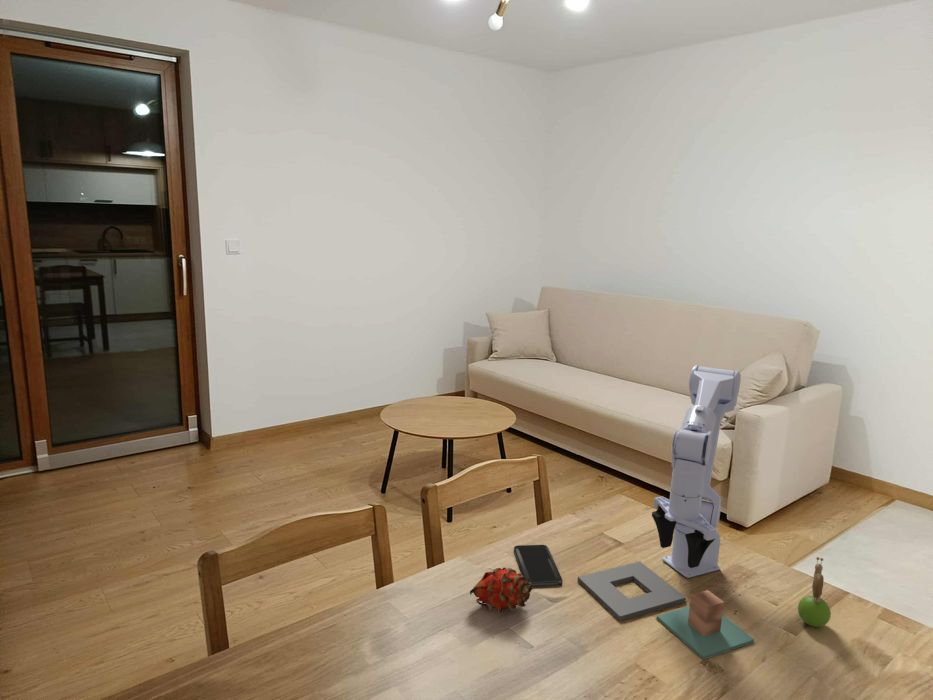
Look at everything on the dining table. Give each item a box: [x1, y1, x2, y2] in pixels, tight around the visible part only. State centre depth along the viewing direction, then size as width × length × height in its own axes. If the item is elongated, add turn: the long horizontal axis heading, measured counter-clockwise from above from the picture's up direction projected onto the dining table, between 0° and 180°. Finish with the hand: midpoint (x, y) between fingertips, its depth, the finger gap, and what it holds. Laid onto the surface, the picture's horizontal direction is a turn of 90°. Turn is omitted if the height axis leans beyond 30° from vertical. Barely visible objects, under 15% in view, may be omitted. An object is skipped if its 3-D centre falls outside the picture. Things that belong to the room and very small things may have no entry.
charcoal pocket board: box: [577, 561, 687, 622], centre depth 127 cm, size 16×14×1 cm
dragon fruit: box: [469, 567, 533, 615], centre depth 120 cm, size 8×8×12 cm
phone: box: [513, 544, 563, 588], centre depth 135 cm, size 8×1×15 cm
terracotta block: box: [688, 589, 725, 637], centre depth 115 cm, size 4×4×6 cm
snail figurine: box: [797, 556, 832, 628], centre depth 118 cm, size 5×6×12 cm
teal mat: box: [656, 605, 755, 660], centre depth 116 cm, size 12×12×1 cm
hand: (679, 556), depth 122 cm, fingers open, 7 cm apart
